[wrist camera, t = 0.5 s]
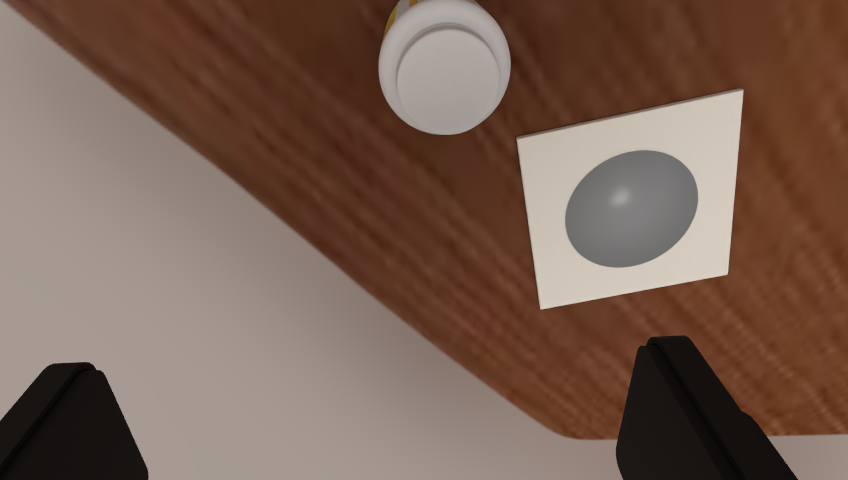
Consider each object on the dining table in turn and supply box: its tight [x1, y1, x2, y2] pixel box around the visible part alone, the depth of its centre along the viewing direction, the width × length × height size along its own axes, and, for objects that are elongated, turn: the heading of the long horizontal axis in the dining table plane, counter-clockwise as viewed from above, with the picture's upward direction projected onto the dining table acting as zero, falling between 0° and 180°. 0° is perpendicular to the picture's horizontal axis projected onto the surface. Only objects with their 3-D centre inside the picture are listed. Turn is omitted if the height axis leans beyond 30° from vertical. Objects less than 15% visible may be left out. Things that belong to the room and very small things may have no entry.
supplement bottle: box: [379, 0, 511, 135], centre depth 24 cm, size 6×6×10 cm
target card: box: [516, 88, 743, 309], centre depth 34 cm, size 13×13×1 cm
